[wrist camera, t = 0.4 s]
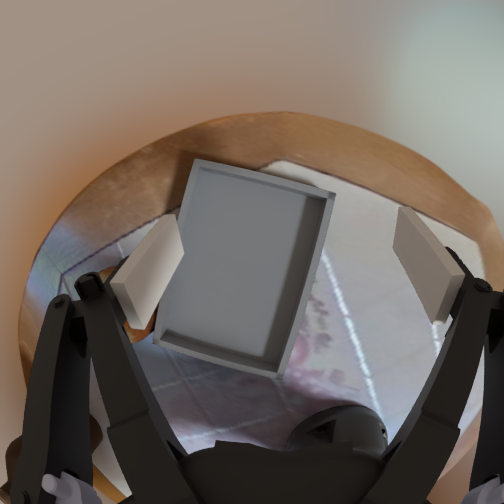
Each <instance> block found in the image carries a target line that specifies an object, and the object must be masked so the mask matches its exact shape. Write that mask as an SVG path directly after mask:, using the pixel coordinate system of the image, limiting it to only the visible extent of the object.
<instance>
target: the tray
mask: <svg viewBox="0 0 504 504" xmlns="http://www.w3.org/2000/svg"><path fill="white" fill-rule="evenodd" d="M335 196H336V193H333V192H330V191H326V190H323V189H320V188H316V187H313V186H309V185H306V184H302V183H299V182H295V181H291V180H288V179H284V178H280V177H276V176H272V175H268V174H264V173H260V172H256V171H252V170H248V169H243V168H239V167H235V166H230V165H225V164H221V163H216V162H211V161H206V160H201V159H196V158H195V159H194V162H193V166H192V169H191V172H190V176H189V179H188V183H187V186H186V190H185V194H184V197H183V201H182V205H181V208H180V212H179V216H178V220H177V225H178V229H179V234H180V238H181V242H182V246H183V250H184V255H183V257H182V259H181V261H180V262H179V264H178V266H177V268H176V270H175V272H174V273H173V275H172V277H171V279H170V281H169V283H168V285H167V287H166V289H165V290H164V292H163V294H162V296H161V298H160V302H159V307H158V313H157V319H156V324H155V330H154V337H153V344H156V345H159V346H161V347H164V348H167V349H170V350H173V351H176V352H179V353H182V354H185V355H188V356H191V357H194V358H198V359H201V360H204V361H208V362H211V363H214V364H218V365H221V366H225V367H229V368H232V369H236V370H240V371H244V372H248V373H252V374H256V375H260V376H265V377H269V378H274V379H278V380H282V378H283V375H284V373H285V370H286V367H287V364H288V361H289V358H290V355H291V352H292V349H293V346H294V343H295V340H296V337H297V334H298V331H299V328H300V325H301V322H302V319H303V315H304V312H305V309H306V306H307V302H308V299H309V296H310V292H311V289H312V285H313V282H314V279H315V275H316V271H317V268H318V264H319V261H320V257H321V253H322V249H323V246H324V242H325V238H326V234H327V230H328V226H329V222H330V218H331V214H332V209H333V205H334V201H335Z"/></svg>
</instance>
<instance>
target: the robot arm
mask: <svg viewBox="0 0 504 504" xmlns="http://www.w3.org/2000/svg"><path fill="white" fill-rule="evenodd" d="M393 249H394V251H395V253H396V255H397V256H398V258H399V260H400V262H401V264H402V265H403V267H404V269H405V271H406V273H407V275H408V277H409V279H410V280H411V282H412V284H413V286H414V288H415V290H416V292H417V294H418V296H419V298H420V300H421V302H422V304H423V306H424V309H425V311H426V313H427V315H428V317H429V319H430V322H431V324H432V325H437V324H444V323H446V321H447V318H448V316H449V314H450V315H451V317H452V318H453V320H452V323H451V325H450V327H449V329H448V331H447V333H446V335H445V337H446V338H445V340H444V343H443V345H442V348H441V350H440V353H439V355H438V357H437V359H436V362H435V364H434V366H433V368H432V371H431V373H430V375H429V377H428V379H427V381H426V383H425V385H424V387H423V389H422V391H421V393H420V395H419V397H418V398H417V400H416V402H415V404H414V406H413V408H412V409H411V411H410V413H409V414H408V416H407V418H406V420H405V421H404V423H403V425H402V426H401V428H400V429H399V431H398V433H397V434H396V436H395V437H394V439H393V440H392V442H391V443H390V444H389V446H388V440H387V438H388V437H387V430H386V427H385V425H384V423H383V422H382V420H381V418H380V417H379V416H378V414H376V413H375V412H374V411H372V410H370V409H368V408H365V407H361V406H340V407H335V408H331V409H327V410H325V411H322V412H320V413H317V414H315V415H313V416H311V417H310V418H308V419H307V420H305V421H304V422H302V423H301V424H300V425H299V426H298V427H297V428H296V429H295V430H294V431H293V432H292V434H291V435H290V437H289V439H288V441H287V445H286V452H279V451H275V450H271V449H267V448H263V447H260V446H256V445H253V444H250V443H239V442H228V441H219V440H216V442H215V447H212V448H206V449H202V450H199V451H196V452H193V453H191V454H189V455H188V453H187V452H186V451H185V449H184V448H183V447H182V445H181V444H180V442H179V441H178V439H177V438H176V436H175V434H174V432H173V431H172V429H171V427H170V425H169V423H168V421H167V420H166V418H165V416H164V414H163V412H162V410H161V408H160V406H159V404H158V402H157V400H156V398H155V396H154V394H153V392H152V390H151V388H150V386H149V384H148V381H147V379H146V377H145V375H144V373H143V370H142V368H141V366H140V363H139V361H138V359H137V356H136V354H135V352H134V349H133V347H132V344H131V342H130V339H129V336H128V334H127V331H126V329H125V327H124V324H125V322H126V320H127V321H128V323H129V325H130V327H131V328H134V329H143V330H145V328H146V326H147V324H148V322H149V320H150V318H151V316H152V314H153V312H154V310H155V308H156V306H157V304H158V302H159V300H160V298H161V296H162V294H163V292H164V290H165V289H166V287H167V285H168V283H169V281H170V279H171V277H172V275H173V273H174V272H175V270H176V268H177V266H178V264H179V262H180V261H181V259H182V257H183V255H184V250H183V246H182V242H181V238H180V234H179V229H178V225H177V221H176V216H175V214H170V215H163V216H162V217H161V219H160V220H159V221H158V222H157V223H156V224H155V226H154V227H153V228H152V229H151V230H150V232H149V233H148V234H147V235H146V236H145V238H144V239H143V240H142V241H141V243H140V244H139V245H138V246H137V248H136V249H135V250H134V251H133V253H132V254H131V255H130V256H127V257H126V258H124V259H123V260H122V261H120V263H119V264H118V265H117V266H116V268H115V269H114V270H113V271H112V273H111V274H110V275H109V277H108V278H107V279H106V281H105V282H104V283H103V282H102V280H101V278H100V276H99V274H98V273H97V272H89V273H86V274H84V275H82V276H81V277H80V278H78V279H77V281H76V282H75V284H74V287H75V289H76V291H77V293H78V295H79V297H80V299H81V300H78V301H73V302H72V300H71V298H70V297H69V295H68V294H61V295H59V296H56V297H55V298H53V300H52V301H51V302H50V303H49V305H48V308H47V312H46V315H45V318H44V321H43V325H42V328H41V332H40V335H39V339H38V343H37V347H36V351H35V355H34V359H33V364H32V369H31V374H30V379H29V384H28V390H27V397H26V404H25V411H24V421H23V432H22V448H21V451H20V454H19V458H18V461H17V464H16V468H15V472H14V476H13V480H12V484H11V488H10V501H11V504H102V501H101V499H100V498H99V497H98V496H97V493H96V491H95V490H94V489H93V465H92V454H91V441H90V421H89V380H90V359H91V357H92V361H93V365H94V370H95V374H96V378H97V381H98V385H99V389H100V392H101V396H102V399H103V402H104V405H105V409H106V412H107V415H108V418H109V421H110V424H111V425H110V427H108V428H107V433H108V437H109V440H110V443H111V445H112V448H113V451H114V453H115V456H116V458H117V461H118V463H119V466H120V468H121V470H122V473H123V475H124V477H125V479H126V481H127V484H128V486H129V488H130V490H131V492H132V495H130V496H129V497H127V498H126V499H124V500H123V501H121V502H120V503H118V504H431V503H430V502H429V501H428V500H427V499H426V498H427V496H428V494H429V493H430V491H431V489H432V488H433V486H434V484H435V483H436V481H437V479H438V478H439V476H440V474H441V472H442V470H443V469H444V467H445V465H446V463H447V461H448V459H449V457H450V455H451V453H452V451H453V449H454V447H455V444H456V442H457V440H458V437H459V435H460V429H459V428H458V424H459V421H460V419H461V416H462V414H463V411H464V408H465V406H466V403H467V400H468V397H469V395H470V392H471V389H472V386H473V382H474V379H475V376H476V373H477V369H478V366H479V362H480V358H481V354H482V350H483V346H484V393H483V406H482V416H481V424H480V431H479V438H478V444H477V449H476V454H475V459H474V463H473V469H472V473H471V479H470V486H469V493H468V494H467V495H466V496H465V497H464V499H463V501H462V502H461V503H460V504H504V290H503V292H498V291H493V290H492V287H491V286H490V284H489V283H488V282H486V281H485V280H483V279H480V278H474V276H473V275H472V274H471V272H470V271H469V270H468V268H467V267H466V266H465V264H463V262H462V260H461V259H459V257H458V255H457V254H456V253H455V252H454V251H453V250H451V249H450V248H449V247H444V246H443V245H442V243H441V242H440V241H439V240H438V238H437V237H436V236H435V235H434V234H433V232H432V231H431V230H430V229H429V228H428V227H427V225H426V224H425V223H424V222H423V221H422V220H421V218H420V217H419V216H418V215H417V214H416V213H415V212H414V211H413V210H412V209H411V207H399V209H398V217H397V224H396V230H395V236H394V242H393Z"/></svg>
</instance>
